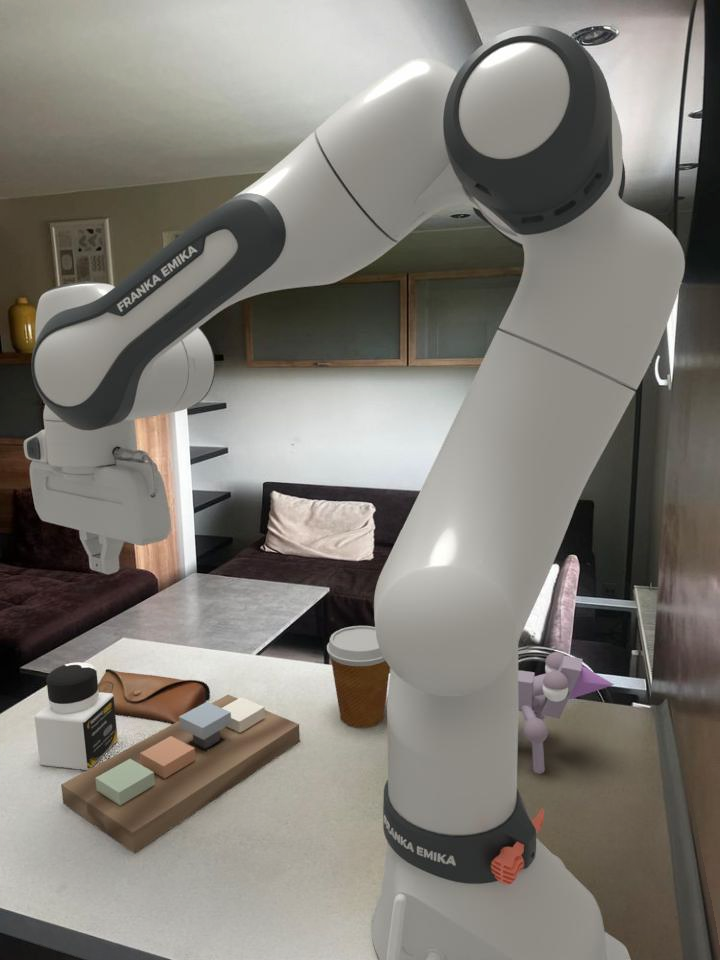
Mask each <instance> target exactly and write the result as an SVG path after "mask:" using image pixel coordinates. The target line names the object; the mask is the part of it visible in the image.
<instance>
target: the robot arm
mask: <svg viewBox="0 0 720 960" xmlns="http://www.w3.org/2000/svg"><path fill="white" fill-rule="evenodd" d="M610 94H611V93H610V90H609V86H608V83H607V80H606V78H605V75H604V73H603V71H602V68H601V67H600V66H599V64H598V62H597V61H596V60H595V59H594V57H593V56H592V55H591V53H590V52H589V51H588V50H587V49H586V48H585V47H584V46H583V45H582V44H581V43H580V42H579V41H577V40H576V39H575V38H574V37H572V36H570V35H569V34H567V33H565V32H563V31H561V30H558V29H556V28H552V27H549V26H543V25H526V26H519V27H515V28H512V29H509V30H505V31H504V32H501V33H499V34H497V35H495V36H493V37H492V38H490V39H489V40H487V41H486V42H484V43H483V44H482V45H481V46H479V47H478V48H477V49H476V50H475V51H474V52H472V54H471V55H470V56H469V57H468V58H467V59H466V60H465V62H464V63H463V64H462V65H461V67H460V68H459V70H458V72H457V71H455V70H454V69H453V68H451V67H450V66H449V65H447V64H445V63H443V62H441V61H439V60H437V59H435V58H430V57H416V58H412V59H409V60H407V61H405V62H403V63H402V64H400V65H399V66H397V67H396V68H394V69H393V70H390V71H388V72H387V73H386V74H384V75H383V76H382V77H381V76H380V78H379V79H377V80H375V81H373V82H372V83H370V84H369V85H368V86H367V87H365V88H364V89H363V90H361V91H359V92H358V93H357V94H356V95H355V96H353V97H352V98H351V99H349V100H348V101H347V102H346V103H345V104H343V105H342V106H341V107H340V108H338V109H337V110H336V111H334V113H332V114H331V115H330V116H329V117H327V119H326V120H325V121H324V122H322V124H320V125H319V126H318V127H317V128H315V130H314V131H313V132H311V133H310V134H309V135H308V136H307V137H306V138H305V139H304V140H303V141H302V142H300V143H299V145H297V146H296V147H295V148H294V149H293V150H291V152H289V154H288V155H286V156H285V157H284V158H283V159H282V160H280V161H279V162H278V163H277V164H276V165H274V166H273V167H272V168H271V169H269V170H268V171H267V172H266V173H264V175H262V176H261V177H260V178H259V179H257V180H256V181H255V182H253V183H252V184H250V185H249V186H248V187H245V189H243V190H242V191H240V192H239V193H237V194H235V196H233V197H232V198H229V199H228V200H226V201H225V202H224V203H222V204H221V205H219V206H218V207H216V208H214V209H213V210H212V211H210V212H209V213H207V214H206V215H204V216H203V217H201V218H200V219H199V220H198V221H196V222H195V223H193V224H192V225H191V226H189V227H188V228H187V229H185V231H183V232H182V233H181V234H179V235H178V236H176V238H174V239H173V240H171V241H170V242H169V243H168V244H167V245H165V246H164V247H163V248H162V249H161V250H159V251H158V252H157V253H156V254H154V255H153V256H152V257H150V258H149V259H148V260H146V262H144V263H143V264H142V265H141V266H139V267H138V268H137V269H135V271H133V272H132V273H131V274H130V275H128V276H126V278H124V279H123V280H122V281H120V283H118V284H117V285H116V286H114V285H112V284H111V283H105V282H102V281H101V282H100V281H81V282H69V283H66V284H60V285H57V286H55V287H52V288H50V289H48V290H46V292H44V293H42V295H41V296H40V298H39V299H38V303H37V307H36V314H35V323H34V324H35V326H34V329H35V330H34V334H35V336H34V337H35V343H34V346H33V349H32V356H31V366H30V367H31V375H32V379H33V384H34V386H35V389H36V392H37V393H38V395H39V397H40V398H41V400H42V401H43V402H44V409H43V417H42V418H43V426H44V429H41V430H40V431H39V432H37V433H35V434H34V435H32V436H30V437H28V438H26V439H25V440H24V441H23V451H24V456H25V458H26V459H28V460H29V461H31V462H30V465H29V478H30V479H29V480H30V487H31V493H32V498H33V504H34V509H35V511H36V514H37V515H38V517H39V519H40V520H41V521H42V522H44V523H45V522H46V523H49V524H54V525H57V526H61V527H65V528H70V529H74V530H76V531H78V532H79V540H80V541H81V543H82V545H83V548H84V550H85V552H86V555H87V556H88V562H89V563H88V564H89V565H88V566H89V569H90V570H92V571H95V572H97V573H101V574H104V575H109V576H110V575H111V574H115V573H117V572H119V571H120V554H121V552H122V549H123V546H124V543H129V544H133V545H135V546H136V545H137V546H140V547H141V546H147V545H151V544H155V543H158V542H161V541H164V540H166V539H167V538H168V537H169V535H170V532H171V530H172V524H171V523H172V521H171V516H170V515H171V514H170V507H169V501H168V497H167V496H168V494H167V491H166V485H165V482H164V479H163V477H162V474H161V472H160V471H159V469H158V466H157V464H156V463H155V462H154V461H153V459H152V458H151V457H150V456H149V453H148V452H146V451H144V450H141V449H138V442H137V433H136V432H137V430H136V429H137V428H136V421H135V420H137V419H146V418H152V417H156V416H161V415H165V414H172V413H177V412H180V411H185V410H187V409H190V408H191V407H193V406H197V405H198V404H199V403H201V402H202V401H203V400H205V398H206V397H207V395H208V394H209V392H210V390H211V388H212V386H213V383H214V379H215V373H216V360H215V354H214V350H213V347H212V345H211V343H210V341H209V339H208V337H207V335H206V334H205V333H204V332H203V331H202V329H201V328H200V327H201V326H202V325H204V324H205V323H206V322H208V321H209V320H211V319H212V318H213V317H214V316H216V315H217V314H218V313H220V312H222V311H223V310H224V309H226V308H228V307H230V306H232V305H234V304H235V303H236V304H237V302H239V301H240V302H241V301H243V300H245V299H248V298H251V297H254V296H258V295H261V294H265V293H270V292H276V291H282V290H288V289H289V290H290V289H297V288H305V287H306V288H307V287H315V286H325V285H331V284H334V283H337V282H338V281H339V282H340V281H341V280H343V279H346V278H347V277H350V276H351V275H353V274H355V273H356V272H358V271H361V270H362V269H364V268H366V267H368V266H369V265H370V264H372V263H374V262H375V261H376V260H378V259H380V258H381V257H383V255H385V254H386V253H387V252H388V251H390V250H391V249H392V248H393V247H395V246H396V245H398V244H399V243H400V241H402V240H403V239H404V238H406V236H408V235H409V234H410V233H412V232H413V231H414V230H415V229H417V227H419V226H420V225H421V224H423V223H424V222H425V221H426V220H428V219H429V218H430V217H432V216H433V215H435V214H436V213H438V212H439V211H441V210H444V209H446V208H450V207H453V206H467V207H471V208H472V209H473V212H474V214H475V215H476V216H477V217H478V218H480V219H481V220H483V221H484V223H486V224H488V225H489V226H490V227H492V228H493V229H495V230H496V231H497V233H499V234H500V235H502V236H503V237H504V238H505V239H507V241H509V242H511V244H513V245H514V246H516V247H518V248H519V249H521V250H523V253H524V254H523V255H524V256H523V258H524V259H523V262H524V263H523V268H522V274H521V277H520V281H519V283H518V286H517V289H516V291H515V293H514V295H513V298H512V300H511V302H510V304H509V306H508V308H507V310H506V312H505V314H504V316H503V318H502V320H501V323H500V324H499V326H498V328H499V329H500V330H499V329H497V330H496V331H495V335H494V336H493V338H492V341H491V342H490V345H489V347H488V348H487V351H486V353H485V354H484V357H483V359H482V361H481V364H480V366H479V368H478V370H477V372H476V373H475V376H474V378H473V380H472V382H471V384H470V387H469V388H468V391H467V392H466V394H465V397H464V399H463V401H462V403H461V405H460V407H459V409H458V411H457V414H456V415H455V418H454V420H453V422H452V424H451V426H450V428H449V430H448V432H447V435H446V437H445V439H444V441H443V443H442V444H441V447H440V449H439V451H438V453H437V456H436V458H435V460H434V462H433V464H432V466H431V468H430V471H429V472H428V474H427V476H426V478H425V480H424V483H423V485H422V486H421V489H420V490H419V494H418V495H417V497H416V499H415V501H414V504H413V505H412V507H411V509H410V512H409V514H408V516H407V517H406V520H405V523H404V524H403V527H402V529H401V530H400V532H399V534H398V536H397V539H396V541H395V542H394V543H393V544H394V545H393V547H392V549H391V551H390V553H389V555H388V556H387V557H388V558H387V559H386V561H385V563H384V566H383V568H382V569H381V572H380V574H379V576H378V579H377V583H376V586H375V591H374V596H373V598H374V600H373V612H374V613H373V614H374V615H373V616H374V617H373V619H374V627H375V628H376V636H377V641H378V645H379V648H380V651H381V653H382V655H383V657H384V659H385V661H386V662H387V664H388V665H389V667H390V669H389V681H388V684H389V685H388V692H387V693H388V694H387V700H386V701H387V702H386V704H387V705H386V721H387V727H386V728H387V733H386V735H387V779H386V781H385V785H384V787H383V803H382V807H383V808H382V809H383V810H382V811H383V812H382V818H383V819H382V820H383V821H382V825H383V826H382V827H383V828H382V829H383V833H384V837H385V839H386V853H385V863H384V871H383V878H382V883H381V890H380V894H379V898H378V901H377V903H376V904H377V905H376V907H375V909H374V913H373V917H372V921H371V937H372V942H373V947H374V949H375V953H376V955H377V957H378V960H632V959H631V956H630V954H629V950H628V947H626V945H624V943H622V942H621V941H619V940H618V939H616V938H615V937H614V936H612V935H610V934H609V933H608V932H606V931H605V926H604V921H603V917H602V913H601V909H600V907H599V905H598V902H597V900H596V898H595V897H594V895H593V894H592V893H591V892H590V890H588V888H587V887H585V886H584V884H583V883H581V882H580V881H579V879H577V878H576V876H574V874H572V873H571V872H570V870H568V869H567V867H566V865H565V863H564V862H563V860H561V858H560V857H559V856H557V855H556V854H554V853H552V852H551V851H550V850H549V849H548V848H547V847H546V846H545V845H544V843H543V842H541V841H540V840H539V838H537V834H538V833H539V831H540V830H541V829H542V827H543V824H544V821H545V817H544V816H545V809H544V808H541V809H540V810H539V812H538V813H537V814H536V815H535V817H534V818H533V819H532V820H531V819H530V816H529V814H528V811H527V808H526V806H525V803H524V801H523V798H522V796H521V794H520V791H519V788H518V784H517V783H518V757H519V755H518V754H519V753H518V752H519V750H518V749H519V748H518V747H519V717H520V715H519V713H520V711H519V700H518V670H519V642H520V639H521V637H522V634H523V632H524V630H525V627H526V624H527V623H528V619H529V618H530V615H532V614H531V613H532V611H533V609H534V607H535V605H536V603H537V600H538V598H539V596H540V593H541V591H542V589H543V587H544V585H545V582H546V580H547V578H548V575H549V573H550V571H551V569H552V566H553V564H554V562H555V560H556V557H557V555H558V554H559V553H558V552H559V550H560V548H561V544H562V543H563V540H564V538H565V535H566V532H567V530H568V529H569V528H568V527H569V525H570V522H571V519H572V518H573V514H574V511H575V509H576V507H577V504H578V502H579V499H580V497H581V495H582V493H583V492H584V488H585V487H586V484H587V482H588V480H589V479H590V476H591V475H592V473H593V471H594V469H595V468H596V466H597V464H598V462H599V460H600V458H601V456H602V454H603V452H604V450H605V449H606V447H607V445H608V444H609V441H610V439H611V438H612V436H613V434H614V432H615V430H616V429H617V427H618V425H619V423H620V421H622V420H621V419H622V417H623V415H624V414H625V412H626V411H627V408H628V406H629V405H630V402H631V400H632V399H633V397H634V396H635V394H636V391H635V390H638V388H639V386H640V384H641V382H642V380H643V378H644V376H645V375H646V373H647V371H648V369H649V367H650V364H651V362H652V360H653V357H654V356H655V353H656V351H657V350H658V348H659V345H660V343H661V339H662V337H663V335H664V333H665V330H666V328H667V326H668V324H669V320H670V316H671V314H672V312H673V309H674V306H675V304H676V301H677V297H678V294H679V291H680V288H681V284H682V281H683V278H684V274H685V267H686V259H685V253H684V249H683V248H682V245H681V243H680V241H679V239H678V238H677V237H676V235H675V234H674V233H673V232H672V231H671V229H670V228H668V227H667V226H666V225H665V224H664V223H663V222H662V221H660V220H659V219H657V218H656V217H655V216H653V215H651V214H650V213H647V212H646V211H642V210H640V209H637V208H635V207H633V206H631V205H629V204H628V203H627V202H624V200H623V196H624V192H625V188H626V187H625V186H626V170H625V169H626V168H625V163H624V160H623V134H622V130H621V125H620V120H619V118H618V114H617V111H616V107H615V106H614V103H613V101H612V98H611V95H610ZM632 389H634V390H632Z"/></svg>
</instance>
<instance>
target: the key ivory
mask: <svg viewBox="0 0 720 960" xmlns="http://www.w3.org/2000/svg"><path fill="white" fill-rule="evenodd" d="M265 708H266V707H265V706H264V705H260V704H259V703H256V702H254V701H252V700H249V699H246V698H245V697H239V698H238V699H237V700H235V701H233V702H232V703H230V704H228V705H226V706H224V707H222V709H224V710H227V711H229V712H231V724H230V725H228V726H226V727H229V728H231V729H233V730H235V731H237V732H239V733H241V732H242V731H244V730H246V729H247V728H249V727H251V726H252V725H254V724H256V723H257V722H259V721H260V720H262V719H264V718H265V710H266V709H265Z"/></svg>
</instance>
